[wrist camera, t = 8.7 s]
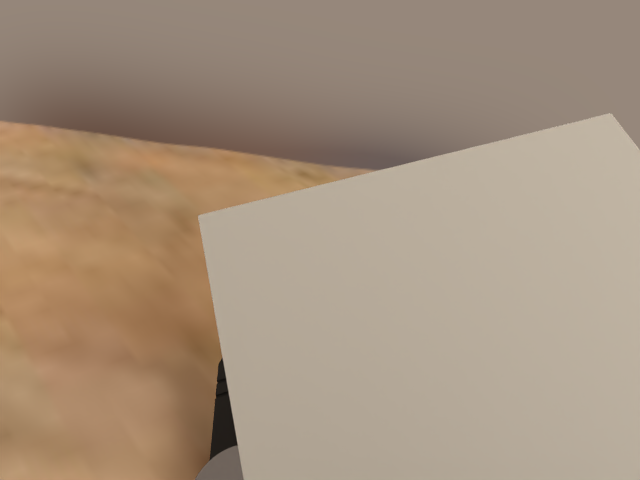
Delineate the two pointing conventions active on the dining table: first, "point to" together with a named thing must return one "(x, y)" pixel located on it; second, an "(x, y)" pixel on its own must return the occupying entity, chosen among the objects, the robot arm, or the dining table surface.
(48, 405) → the dining table surface
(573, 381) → the tall cream block
